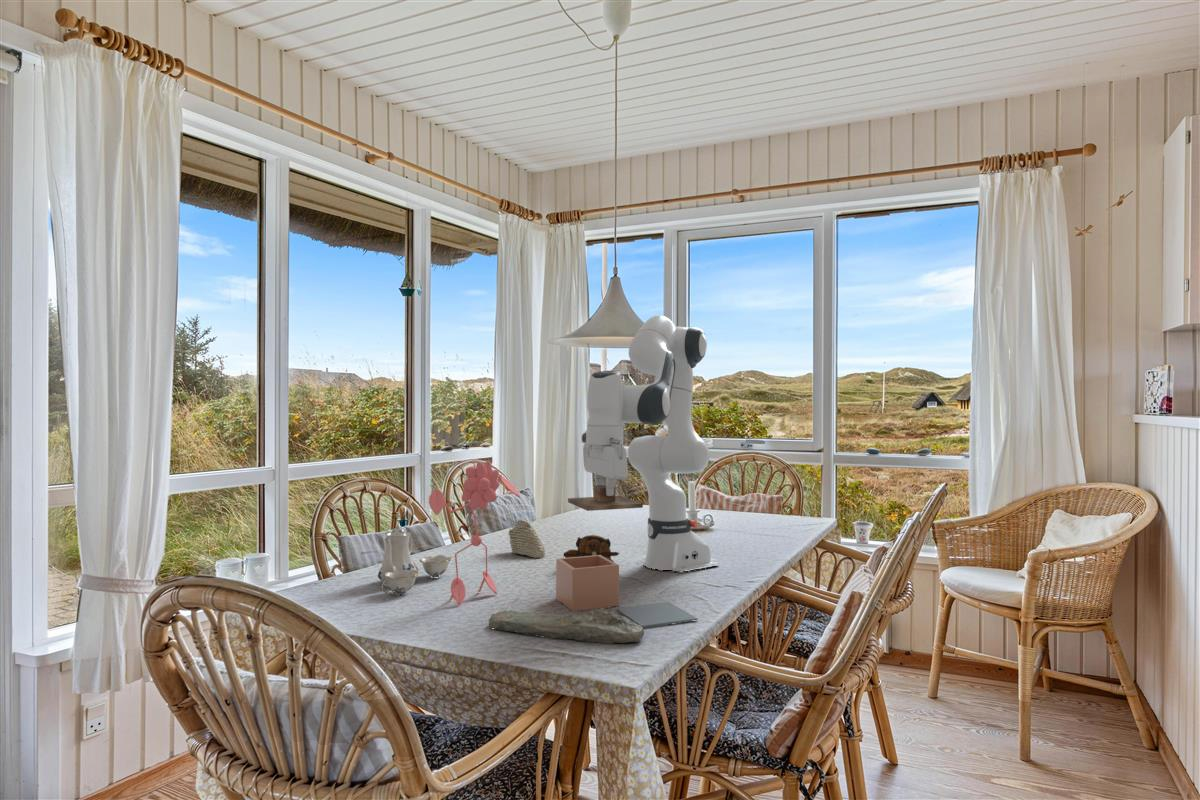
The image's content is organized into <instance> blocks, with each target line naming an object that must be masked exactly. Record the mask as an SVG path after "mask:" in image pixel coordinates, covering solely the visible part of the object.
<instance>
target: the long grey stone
mask: <svg viewBox="0 0 1200 800" xmlns="http://www.w3.org/2000/svg"><path fill="white" fill-rule="evenodd" d="M488 626H489V628H490V629H491V628H494V629H498V630H497V631H504V632H508V631H510V632H511V633H514V632H516V633H515V634H521V633H522V634H521V635H525V634H526V635H525V636H535V635H537V636H536V637H541V636H544V637H543V638H548V637H550V639H553V638H554V639H555V638H559V639H562V638H565V639H567V640H574V641H577V640H578V641H577V642H585V641H592V642H594V643H600V642H603V643H602V644H607V643H611V644H610V645H612V643H613V644H614V643H616V644H619V643H620V644H621V643H622V644H626V643H635V642H640V640H641V639H643V637H644V635H645V630H644V629H645V628H642V627H641V626H640V625H638V624H636V623H635V622H632V621H631V620H629V619H627V618H626V617H625V616H623V615H616V614H615V613H614V612H612V611H611V612H610V611H608V610H607V609H606V608H600V609H592V610H587V612H586V613H584V612H580V613H577V614H575V615H573V614H570V615H565V616H564V615H561V614H551V613H550V614H549V613H536V612H527V611H515V610H503V611H498V612H496V613H492V614H491V615H490V617H489V619H488ZM494 629H493V630H494ZM510 632H509V633H510Z"/></svg>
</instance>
